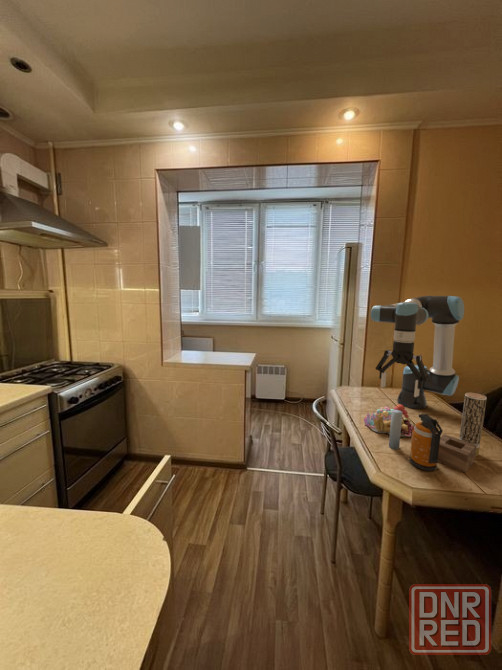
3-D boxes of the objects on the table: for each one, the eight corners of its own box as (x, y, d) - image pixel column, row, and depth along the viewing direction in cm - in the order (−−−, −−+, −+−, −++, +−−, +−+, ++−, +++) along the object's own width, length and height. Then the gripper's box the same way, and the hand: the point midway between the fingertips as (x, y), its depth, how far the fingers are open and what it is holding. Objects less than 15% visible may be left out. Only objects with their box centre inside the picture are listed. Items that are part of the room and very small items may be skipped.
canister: (426, 457, 113) (431, 410, 110) (446, 475, 102) (452, 424, 99) (404, 458, 112) (409, 411, 109) (422, 476, 102) (428, 424, 98)
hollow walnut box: (442, 449, 119) (444, 433, 118) (474, 461, 110) (476, 445, 109) (432, 458, 112) (434, 442, 111) (465, 472, 104) (467, 455, 103)
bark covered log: (458, 446, 121) (465, 391, 117) (478, 452, 117) (486, 395, 113) (457, 453, 116) (464, 395, 112) (478, 459, 112) (486, 400, 108)
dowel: (391, 443, 123) (394, 408, 121) (400, 447, 120) (404, 412, 118) (387, 446, 121) (390, 411, 118) (396, 450, 118) (399, 414, 115)
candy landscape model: (424, 441, 126) (426, 422, 124) (368, 435, 131) (370, 416, 129) (406, 417, 150) (407, 400, 149) (359, 412, 155) (360, 397, 153)
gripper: (369, 337, 121) (366, 385, 124) (434, 347, 101) (428, 402, 105) (378, 336, 125) (374, 381, 129) (442, 344, 106) (436, 398, 109)
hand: (398, 391), depth 117 cm, fingers open, 13 cm apart
